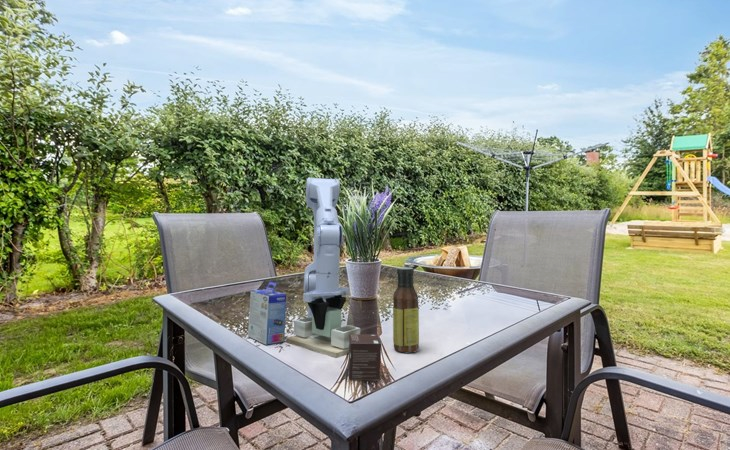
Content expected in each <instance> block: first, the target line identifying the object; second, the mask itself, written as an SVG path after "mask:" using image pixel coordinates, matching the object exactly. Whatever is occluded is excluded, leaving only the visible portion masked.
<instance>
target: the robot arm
mask: <svg viewBox="0 0 730 450" xmlns="http://www.w3.org/2000/svg"><path fill="white" fill-rule="evenodd" d="M305 184H306V186H305V195H306V196H305V197H306V198H305V202H306V207H308V208H309V209H311V210H312V213H313V261H312V262H311V263H309V264H308V265H307V266H305V268H304V275H303V292H304V293H302V301H303V302H305V303H307V317H312V315H313V317H314V321H315V326H316V329H320V330H323V329H324V326H325V315H326V311H327V307H333V308H338V309H340V310H341V311H342V309H343V306H344V305H345V304H346V302H347V297H345V296H349V295H350V287H346V286H342V287H341V286H340V263H341V262H340V259H341V257H340V256H341V248H342V245H343V241H344V233H343V231H344V230H343V226H342V224H341V222H339V218H338V211H337V210H336V207H337V204H338V201H339V197H340V191H341V190H340V188H341V186H340V180H339V179H338V178H319V177H318V178H317V177H307V179H306V183H305ZM307 317H306V318H307Z"/></svg>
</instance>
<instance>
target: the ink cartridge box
mask: <svg viewBox="0 0 730 450" xmlns="http://www.w3.org/2000/svg"><path fill="white" fill-rule="evenodd" d="M277 285H278V283H277V282H272V281H269V283H268V284H267V285H266V288H265V289H256V290H254V289H253V290H250V295H249V296H250V299H249V313H248V315H249V316H248V330H247V336H248V338H250V339H253V340H255V341H257V342H259V343H261V344H263V345H265V346H267V345H273V344H280V343H285V338H286V337H285V334H286V333H285V332H286V310H287V309H286V308H287V293H283V292H279V291H275V290H276V287H277ZM270 286H273V287H270Z"/></svg>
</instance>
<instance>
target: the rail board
mask: <svg viewBox="0 0 730 450" xmlns="http://www.w3.org/2000/svg"><path fill="white" fill-rule="evenodd" d="M350 334H361V327H357V326H353V325H349V324H348V325H344V326H341V327H340V328H336V329H333V330H331V337H326V336H323V335H319V334H315V333H312V317H304V318H303V317H302V318H298V319H294V320H293V336H288V337H285V343H288V344H292V345H295V346H297V347H301V348H304V349H307V350H310V351H314V352H317V353H318V354H319V353H320V354H323V355H327V356H329V357H333V358H335V359H337V358H340V357H341V356H345V355H347V354H348V355H349V335H350Z"/></svg>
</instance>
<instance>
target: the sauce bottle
mask: <svg viewBox="0 0 730 450" xmlns="http://www.w3.org/2000/svg"><path fill="white" fill-rule="evenodd" d="M414 274H415V273H414V268H413V267H407V266H404V267H403V266H401V267H397V268H396V275H397V287H396V288H395V290H394V292H393V294H392V295H393V296H392V297H393V298H392V300H393V301H392V304H393V305H392V339H393V340H392V341H393V348H394V350H395V351H397V352H400V353H403V352H412V353H415V352H414V351H416V352H417V351H418V350H419V347H420V346H419V344H420V325H419V324H420V321H419V320H420V316H419V315H420V314H419V312H420V311H419V310H420V308H419V296H418V294H417V292H416V289H415V287H414Z"/></svg>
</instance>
